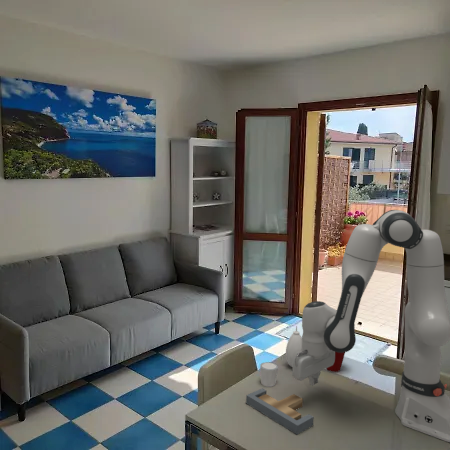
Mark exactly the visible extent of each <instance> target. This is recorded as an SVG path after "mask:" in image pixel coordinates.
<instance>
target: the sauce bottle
mask: <svg viewBox="0 0 450 450" xmlns="http://www.w3.org/2000/svg"><path fill="white" fill-rule="evenodd" d="M301 352H302V335H301V334H300V331H298V325H296V326H295V330H294V331H292V334H291V335H290V337H289V339H288V341H287V343H286V347H285V359H286V361H287V362H286V363H287V364H288V365H289V366H290V367H291V368H293V362H294V359H295V357H296V356H297V354H298V353H301Z"/></svg>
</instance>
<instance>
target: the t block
mask: <svg viewBox="0 0 450 450" xmlns="http://www.w3.org/2000/svg"><path fill="white" fill-rule="evenodd" d="M258 398H259V399H261V400H263V401H264V402H266V403H268V404H270V405H271V406H273V407H275V408H276V409H278V410H280V411H282V412H283V413H285V414H287V415H288V416H290V417H292V418H293V419H295V420H299V419H300V418H302V413H300V412H298V411H297V410H299V409H301V408H303V402H304V399H303V397H301V396H299V395H297V394H295V393H293V394H291V395H288V396H286V397H284V398H283V399H280V400H277V399H276V398H274V397H272V396H270V395H269V394H267V393H266V394H265V395H263V396H260V397H258ZM300 407H301V408H300ZM298 408H299V409H298ZM296 409H297V410H296Z"/></svg>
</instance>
